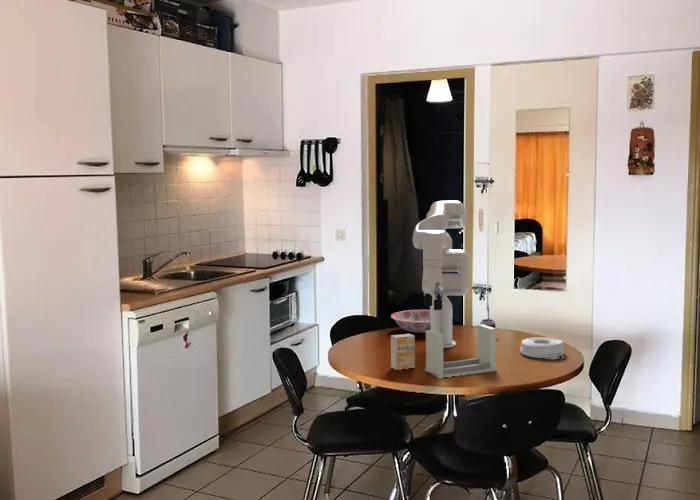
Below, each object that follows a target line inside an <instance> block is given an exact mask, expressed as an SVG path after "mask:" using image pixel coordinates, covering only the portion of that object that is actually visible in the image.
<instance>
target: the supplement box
mask: <svg viewBox="0 0 700 500" xmlns="http://www.w3.org/2000/svg"><path fill="white" fill-rule="evenodd" d="M415 337H416V336H415V335H414V334H411V333H406V334H405V333H404V334H403V333H402V334H395V335H394V334H392V335H390V369H392V368H393V369H392V370H394V369H395V370H394V371H396V370H399V371H403V370H402V369H406V370H409V369H408V368H414V369H415V368H416V366H415V363H416V361H415V360H416V359H415V356H416V354H415V353H416V352H415V347H416V344H415V343H416V341H415V340H416V339H415Z"/></svg>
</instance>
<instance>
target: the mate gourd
mask: <svg viewBox="0 0 700 500" xmlns="http://www.w3.org/2000/svg"><path fill="white" fill-rule="evenodd" d="M486 305H487V318H483V319H481V320H480V323H479V325H480V324H484V325H487V326H490V327H493V328H496V326H497V325H496V322H495V320H493V319H490V306H489V305H490V304H489V302H487V303H486Z"/></svg>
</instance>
